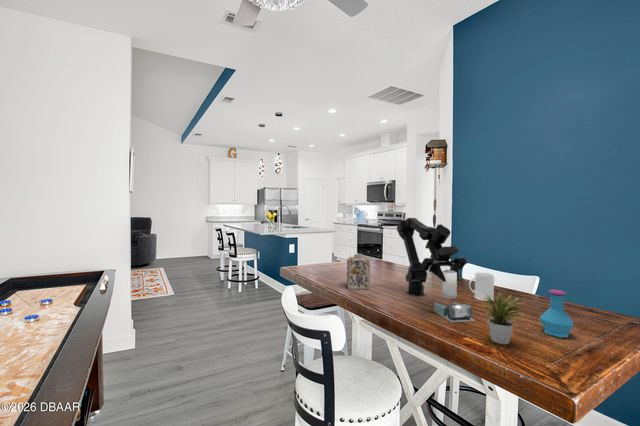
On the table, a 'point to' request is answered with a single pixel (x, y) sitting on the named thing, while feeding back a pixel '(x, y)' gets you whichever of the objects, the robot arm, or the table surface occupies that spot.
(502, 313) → the house plant
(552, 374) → the table surface
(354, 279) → the decorative jar
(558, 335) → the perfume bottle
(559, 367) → the table surface
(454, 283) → the white cylinder
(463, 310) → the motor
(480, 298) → the mug
